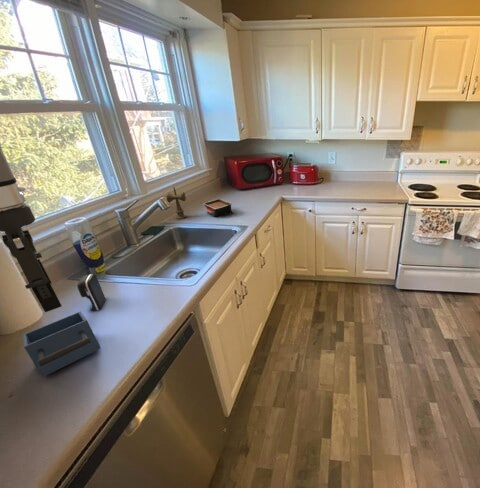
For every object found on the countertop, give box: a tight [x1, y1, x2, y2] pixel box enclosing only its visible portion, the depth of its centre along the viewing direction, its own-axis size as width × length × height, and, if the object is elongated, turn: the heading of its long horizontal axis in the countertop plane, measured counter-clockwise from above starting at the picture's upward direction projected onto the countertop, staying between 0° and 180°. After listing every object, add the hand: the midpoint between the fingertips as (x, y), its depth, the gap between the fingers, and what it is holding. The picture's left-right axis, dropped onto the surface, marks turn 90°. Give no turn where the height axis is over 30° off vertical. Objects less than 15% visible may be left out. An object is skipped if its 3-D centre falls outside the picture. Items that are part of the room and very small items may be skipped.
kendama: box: [165, 186, 187, 220], centre depth 170 cm, size 6×10×20 cm, turn 100°
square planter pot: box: [202, 198, 233, 218], centre depth 180 cm, size 14×18×10 cm
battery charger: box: [76, 273, 106, 312], centre depth 94 cm, size 7×4×11 cm, turn 23°
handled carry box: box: [22, 311, 102, 378], centre depth 71 cm, size 18×12×9 cm, turn 49°
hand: (48, 296), depth 64 cm, fingers open, 13 cm apart
